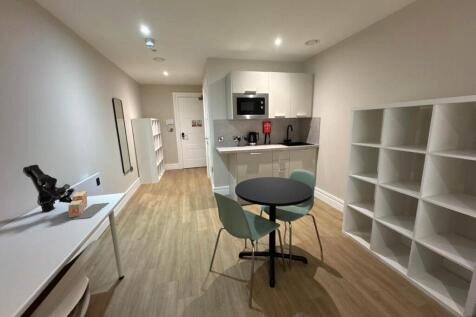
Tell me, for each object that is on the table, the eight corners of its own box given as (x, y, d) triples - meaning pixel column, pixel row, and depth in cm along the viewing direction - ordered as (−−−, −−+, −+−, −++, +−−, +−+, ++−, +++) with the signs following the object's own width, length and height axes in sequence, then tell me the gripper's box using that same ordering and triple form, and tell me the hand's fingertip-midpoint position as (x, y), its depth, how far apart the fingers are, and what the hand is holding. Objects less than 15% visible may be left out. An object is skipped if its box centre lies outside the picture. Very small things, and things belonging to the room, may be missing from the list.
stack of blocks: (79, 216, 143) (78, 200, 141) (68, 217, 140) (67, 200, 138) (87, 205, 162) (86, 190, 160) (77, 205, 159) (76, 191, 157)
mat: (71, 219, 140) (71, 219, 140) (92, 204, 163) (92, 204, 163) (90, 217, 141) (90, 217, 141) (109, 203, 164) (109, 202, 164)
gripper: (48, 186, 136) (69, 200, 139) (69, 178, 154) (87, 190, 157) (39, 198, 137) (60, 211, 140) (61, 189, 155) (79, 200, 159)
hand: (72, 202), depth 149 cm, fingers closed
